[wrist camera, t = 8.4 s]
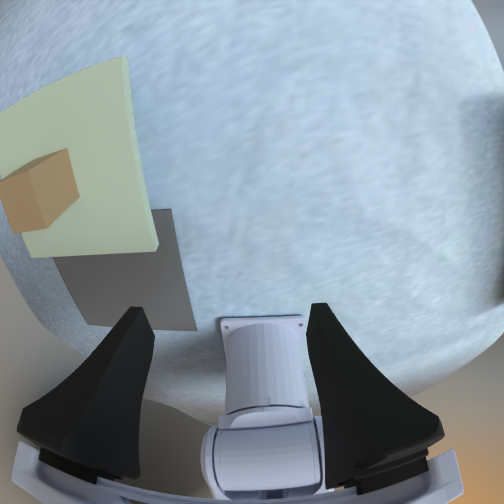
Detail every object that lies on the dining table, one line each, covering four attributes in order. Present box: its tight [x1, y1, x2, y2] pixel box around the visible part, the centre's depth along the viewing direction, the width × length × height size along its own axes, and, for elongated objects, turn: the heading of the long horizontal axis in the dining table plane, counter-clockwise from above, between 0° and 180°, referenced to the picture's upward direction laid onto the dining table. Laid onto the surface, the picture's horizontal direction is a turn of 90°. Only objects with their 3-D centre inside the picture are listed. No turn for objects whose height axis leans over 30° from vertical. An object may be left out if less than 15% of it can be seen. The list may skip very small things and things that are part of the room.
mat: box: [53, 209, 197, 331], centre depth 22 cm, size 13×13×1 cm
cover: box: [0, 56, 159, 258], centre depth 11 cm, size 11×11×4 cm
